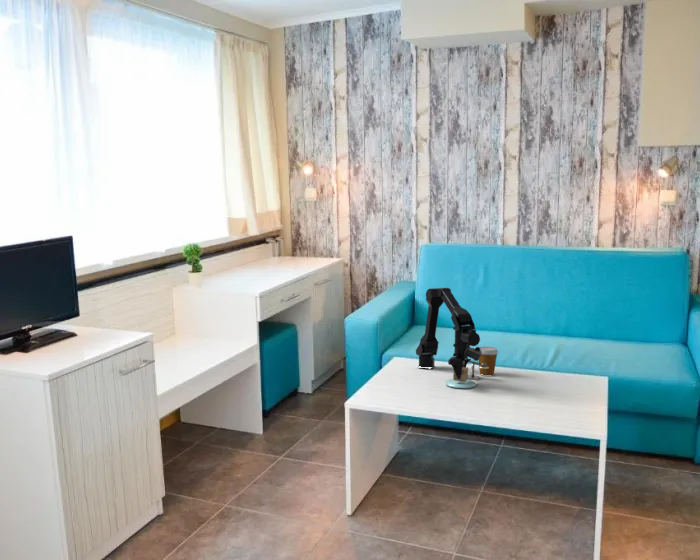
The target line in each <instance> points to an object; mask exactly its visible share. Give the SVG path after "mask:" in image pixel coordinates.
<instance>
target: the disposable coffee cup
mask: <svg viewBox="0 0 700 560" xmlns="http://www.w3.org/2000/svg"><path fill="white" fill-rule="evenodd" d="M478 347H479V348H480V349H481V352H482V355H481V356H480V359H479V360H478V363H481V364H482V363H486V366H488V367H489V368H488V369H480V368H479V366H480V365H478V369H479V375H480V374H483V375H492V376H494V375H495V369H496V363H497V358H498V357H497V356H498V354H499V350H498V348H497V347H493V346H478ZM493 374H494V375H493ZM483 375H482V376H483Z"/></svg>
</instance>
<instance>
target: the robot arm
mask: <svg viewBox="0 0 700 560" xmlns="http://www.w3.org/2000/svg"><path fill="white" fill-rule="evenodd" d="M425 301H426V303H427V306H428V307H427V309H428V310H427V314H426V315H427V316H426V321H425V322H426V324H425V329H424V330H425V331H424V334H423V335H422V337H421V338H420V341H419V344H418V346H417V347H416V349H415V354H416V356H418V367H419V366H421V367H433V368H435V362H436V361H435V359H436V358H435V357H434V356H437V354H438V350H439V341H438V339H437V338H436V334H437V325H438V319H439V312H440V308H441V306H442V305H443V304H445V306H446V307H447V310H448V311H449V313H450V314H451V316H450V319H451V321H452V324H453V325H454V326H453V327H452V330H454V343H453V345H452V347H454V352H453V353H452V356H451V357H450V358H449V359H448V363H447V364H448V365H449V366H451V367H452V369H453V372H454V371H455V374H456V376H457V378H458V379H460V378H461V373H462V367H467V365H468V364H469V363H470V362H469V361H470V360H473V361H475V362H477V361H478V362H479V359H480V356H481V355H482V352H481V349H480V348H479V347H480V346H478V344H479V343H480V341H481V337H480V334H479V333H477V330H476V327H475V326H476V324H475V323H474V319H473V318H472V317H473V316H472V315H471V313H470V312H469V311H468V310H467V309H465V308H463V307H462V306H461V305H460V303H459V302H458V301H457V299H456V297H455V296H454V294H453V292H452V289H451V288H450V287H437V288H436V287H434V288H428V289H427V290H426V292H425ZM474 347H475V348H474Z"/></svg>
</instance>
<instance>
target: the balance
mask: <svg viewBox="0 0 700 560" xmlns="http://www.w3.org/2000/svg"><path fill="white" fill-rule="evenodd" d="M468 363H470V364H471V373H470V374H468V379H467V380H471V381H478V380H479V379H480V378H481V377H480V376H481V375H475V365H477V366H478V369H479V368H480V369H488V368H489V367H488V366H486V363H482V364H481V363H479V361H478V362H477V361H475V360H473V359H471V360H470V361H469V362H468ZM479 365H480V366H479ZM479 377H480V378H479Z"/></svg>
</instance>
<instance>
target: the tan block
mask: <svg viewBox="0 0 700 560" xmlns="http://www.w3.org/2000/svg"><path fill="white" fill-rule="evenodd" d="M452 375H453V376H452V379H453V380H455V381H464V382H465V381H466V380H469V379H468V375H469V367H467V366H466V367H462V373H461V378H460V379H458V378H457V376H456V374H455V371H454V370H453V374H452Z"/></svg>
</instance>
